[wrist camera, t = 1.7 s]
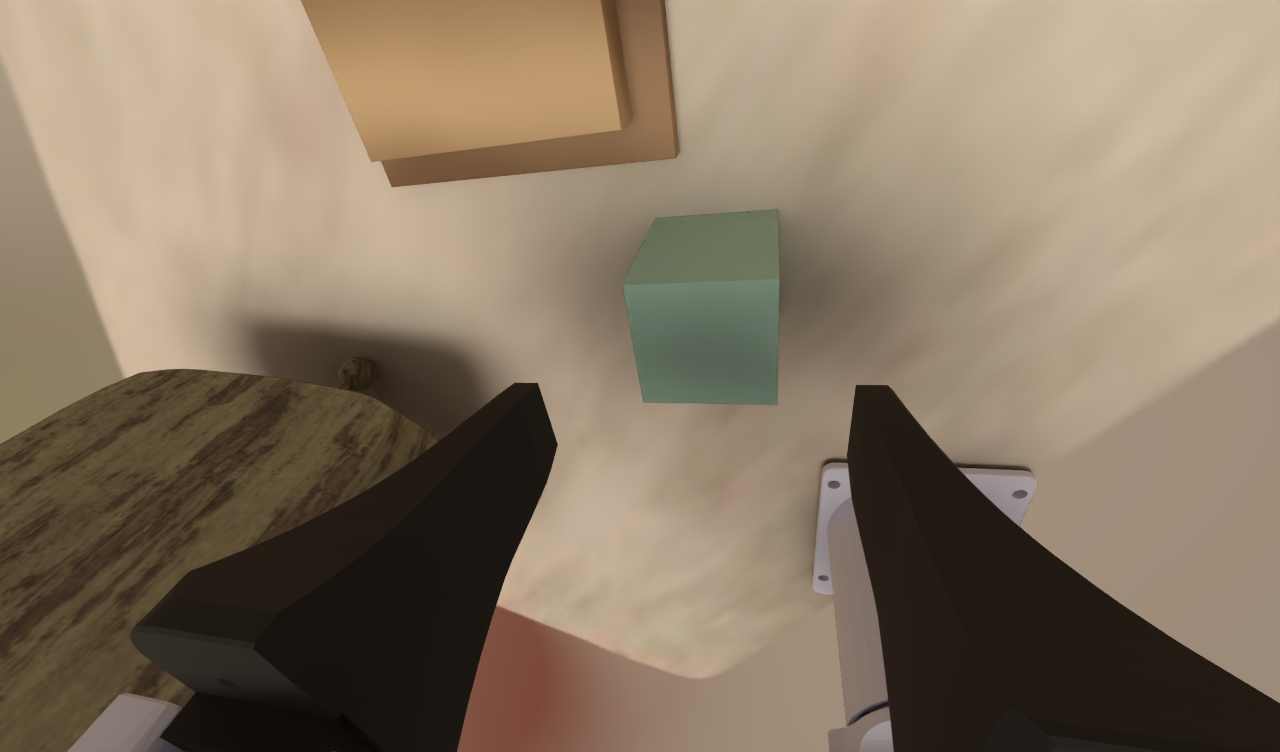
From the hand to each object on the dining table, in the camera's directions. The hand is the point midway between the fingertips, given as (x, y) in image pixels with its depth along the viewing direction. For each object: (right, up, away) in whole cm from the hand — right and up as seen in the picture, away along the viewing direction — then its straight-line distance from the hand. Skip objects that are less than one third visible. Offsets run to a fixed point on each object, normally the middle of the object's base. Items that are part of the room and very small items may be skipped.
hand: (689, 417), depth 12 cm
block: (+2, +5, +6) cm, 8 cm away
